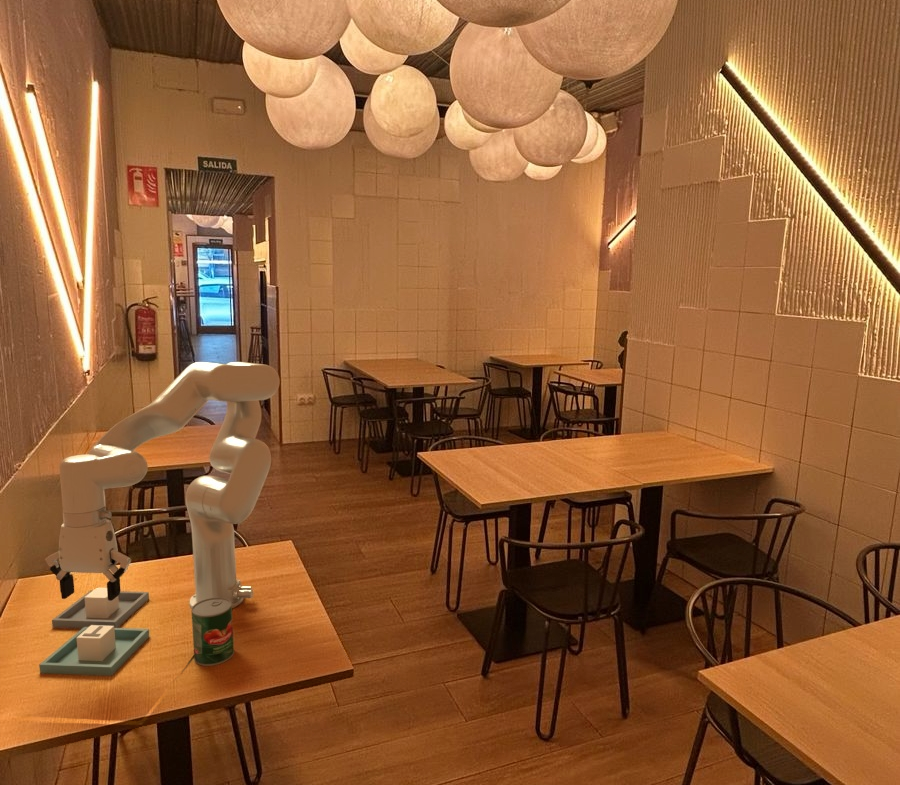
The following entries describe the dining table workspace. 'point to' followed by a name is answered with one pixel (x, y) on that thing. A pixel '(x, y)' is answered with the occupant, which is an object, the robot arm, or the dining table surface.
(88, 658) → the letter cube
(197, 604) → the canned tomato
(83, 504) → the robot arm
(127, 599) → the charcoal tray
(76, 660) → the teal tray
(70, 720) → the dining table surface
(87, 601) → the blank cube
